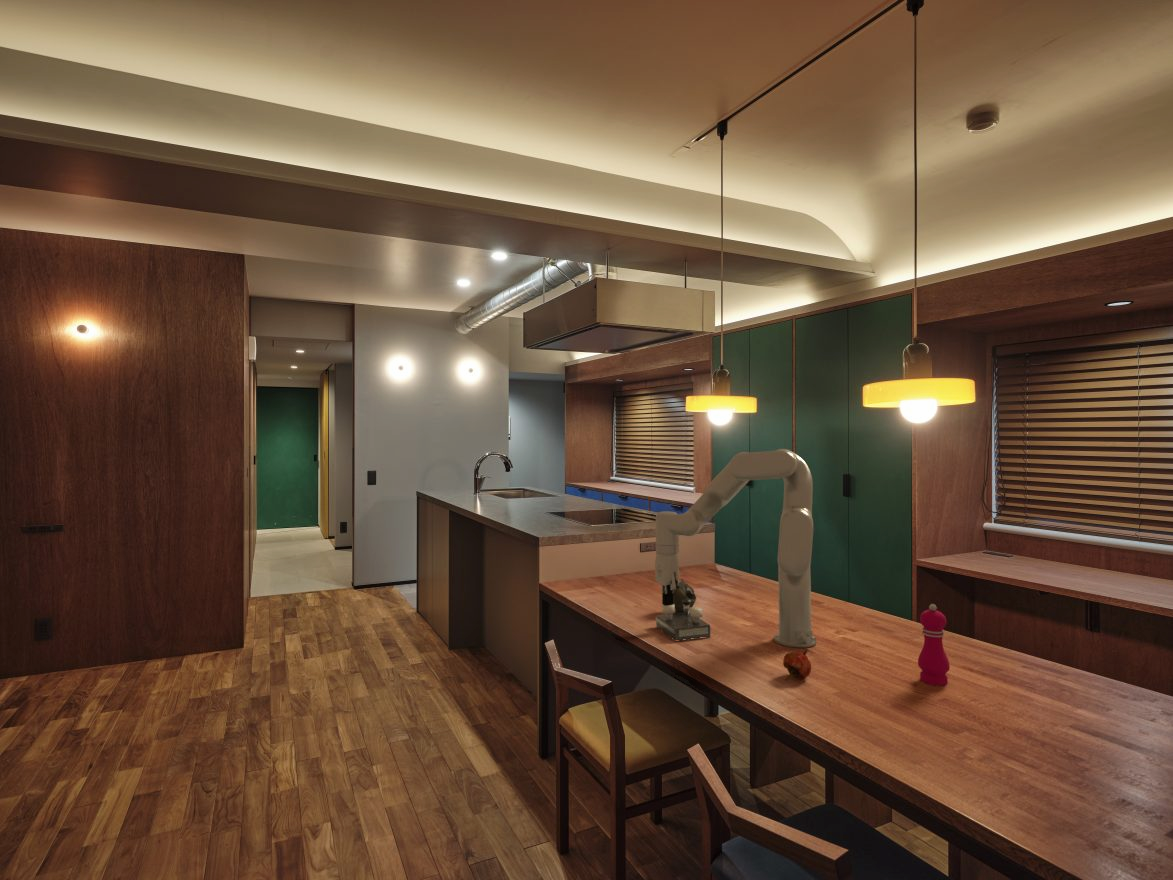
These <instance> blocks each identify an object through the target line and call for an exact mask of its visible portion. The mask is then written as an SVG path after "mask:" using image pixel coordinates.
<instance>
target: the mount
mask: <svg viewBox="0 0 1173 880" xmlns="http://www.w3.org/2000/svg"><path fill="white" fill-rule="evenodd" d="M655 623H656V626H657V627H658V628H659V629H658V628H657V627H656V626H655V627H656V628H657V629H658V630H660V631H661V630H662V631H663V632H662V631H661V632H662V633H664V635H666V634H667V635H666V636H668V637H669V636H670V637H671V638H670V637H669V638H670V639H672V638H673V639H674V640H683V639H691V638H700V637H710V638H711V625H710V624H709V623H708V622H706V621H704V620H703V619H701V618H700V623H692V617H690V614H684V613H672V619H665V614H656V616H655ZM673 639H672V640H673ZM674 640H673V641H674Z"/></svg>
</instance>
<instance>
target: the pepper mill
mask: <svg viewBox="0 0 1173 880" xmlns="http://www.w3.org/2000/svg"><path fill="white" fill-rule="evenodd" d="M936 605H937V604H934V603H931V604H930V605H929V606H928V609H927V610H924V611H923V612H921V613H920V617H919V622H920V624H921V625H922V629H921V630H922V631H921V632H922V635H923V637H924V638H923V639H924V640H923V641H924V643H923V646H922V649H921V651H920V653H919V656H918V659H917V665H918V667H919V669H920V670H921V671H920V672H919V673H920V674H919V679H920V681H921V680H922V681H921V682H923V683H924V682H925V684H927V683H928V684H927V685H930V684H932V685H931V686H936V685H942V686H947V684H948V675H947V673H948V672H949V670H950V667H951V666H950V662H949V658H948V656H947V653H946V651H945V648H944V645H943V637H944V636H945V630H944V628H945V627H946V625H947V619H946V616H945V615H944V613H942V612H941V611H939V610H937V609H938V607H937V606H936Z"/></svg>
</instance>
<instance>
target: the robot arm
mask: <svg viewBox="0 0 1173 880" xmlns="http://www.w3.org/2000/svg"><path fill="white" fill-rule="evenodd" d="M772 479H773V480H775V479H782V480H783V489H784V490H783V501H782V503H783V504H782V511H781V512H782V513H781V516H780V519H779V535H778V545H777V546H778V547H777V548H778V549H777V559H776V560H777V564H778V565H777V566H778V578H777V579H778V630H779V631H778V632H777V633H776V634H774V635H773V640H774V641H775V643H777V644H779V645H782V646H785V647H791V648H810V647H813V646H815V645H817V642H818V641H817V640H818V639H817V637H815V636H814V635H813V630H812V601H811V599H812V597H811V594H812V593H811V592H812V591H811V590H812V587H811V586H812V585H811V584H812V581H811V578H812V577H811V565H812V553H813V539H814V537H813V536H814V519H813V491H814V487H813V485H814V483H813V476H812V473H811V470H810V468H809V466H808V464H807V463H806V461H805V460H804V459H803V458H802V457H800V455H798V454H796V453H795V452H793V451H791V450H790V449H787V448H779V449H776V450H769V451H766V450H765V451H757V452H756V451H755V452H753V451H752V452H748V451H741V452H739V453H736V454H735V455H733V457H732V458H731V459H730V461H729V462H728V463H727V464H726V465H725V466H724V468H723V469H722V470H721V471H720V472H719V473H718V474H717V475H715V477H714V478H713V479H712V480H711V481H710V482H709V484H708V485H707V486H706V488H705V490H704V492H703V493H702V495H700V497H698V499H697V500H696V501H695V502H694V503H693V504H692V505H691V506H689V507H690V508H688V509H687V511H685V512H684V513H677V512H675V511H669V510H667V511H666V510H665V511H659V512H657V513H656V515H655V555H656V556H655V560H654V561H655V564H654V580H655V581H656V583H658V584H660V585H661V596H662V597H661V598H662V599H661V600H662V602H661V604H663V605H665V606H667V605H673V593H674V590H676V585H678V583H679V582H680V569H679V568H680V567H679V566H680V565H679V558H678V557H679V556H678V555H679V554H680V546H679V545H680V543H679V542H680V540H679V539H680V538H679V535H680V536H684V537H692V536H696V535H697V534H698V533H699V532H700V531H701V530H702V529H703V528H704V527H705V525H707V524H708V522H709V521H710V520H711V519H712V518H713V517H714V516H715V515H716V514H717V513H718V512H719V511H720V510H721V509H722V508H724V507H725V506H726V505H728V504H729V502H730V501H731V500H733V498H734V497H735V496H737V494H738V493H739V492H740V491H741V490H742V489H743V488H744V487H745V486H746V485H747V484H748V483H749V482H750V481H758V480H759V481H760V480H762V481H763V480H772Z"/></svg>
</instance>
